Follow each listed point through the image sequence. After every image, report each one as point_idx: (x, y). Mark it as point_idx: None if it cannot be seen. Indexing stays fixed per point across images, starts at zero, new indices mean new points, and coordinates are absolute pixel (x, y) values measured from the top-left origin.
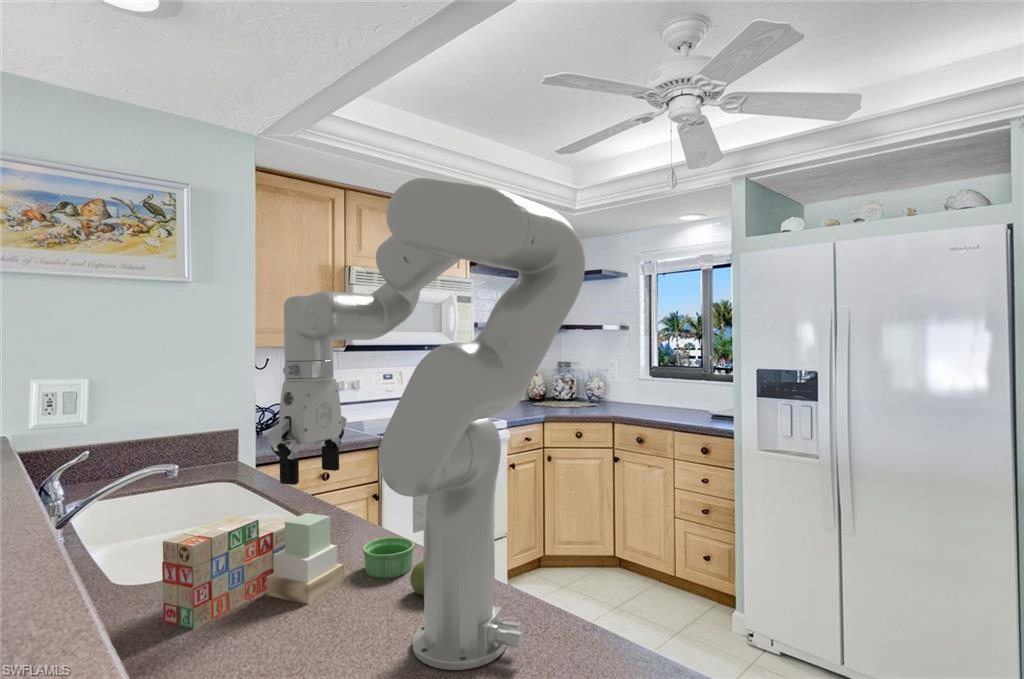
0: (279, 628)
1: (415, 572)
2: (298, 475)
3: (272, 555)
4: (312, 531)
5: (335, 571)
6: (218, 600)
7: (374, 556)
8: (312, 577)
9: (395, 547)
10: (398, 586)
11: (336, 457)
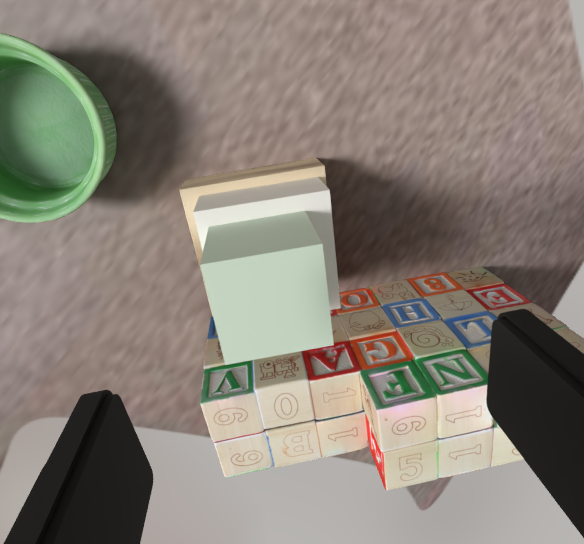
0: (425, 119)
1: None
2: (526, 344)
3: None
4: (300, 237)
5: (216, 182)
6: (444, 288)
7: (101, 118)
8: (300, 181)
9: None
10: (107, 6)
11: (73, 472)
